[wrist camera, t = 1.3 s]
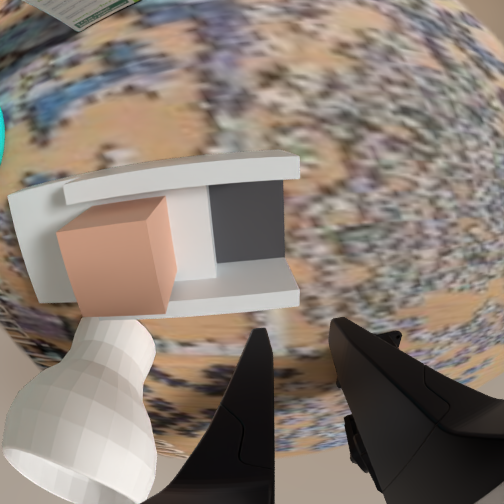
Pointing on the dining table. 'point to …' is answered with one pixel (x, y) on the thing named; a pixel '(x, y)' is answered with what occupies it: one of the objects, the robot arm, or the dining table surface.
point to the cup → (88, 418)
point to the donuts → (1, 135)
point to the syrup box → (79, 10)
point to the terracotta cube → (120, 258)
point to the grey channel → (179, 228)
